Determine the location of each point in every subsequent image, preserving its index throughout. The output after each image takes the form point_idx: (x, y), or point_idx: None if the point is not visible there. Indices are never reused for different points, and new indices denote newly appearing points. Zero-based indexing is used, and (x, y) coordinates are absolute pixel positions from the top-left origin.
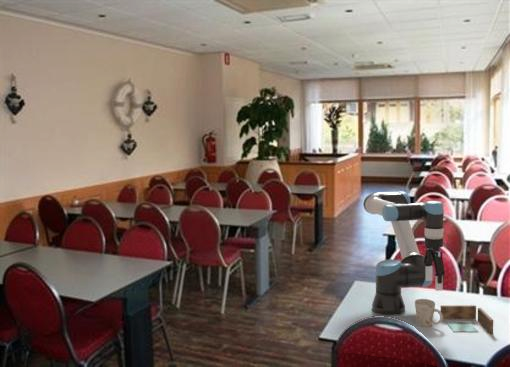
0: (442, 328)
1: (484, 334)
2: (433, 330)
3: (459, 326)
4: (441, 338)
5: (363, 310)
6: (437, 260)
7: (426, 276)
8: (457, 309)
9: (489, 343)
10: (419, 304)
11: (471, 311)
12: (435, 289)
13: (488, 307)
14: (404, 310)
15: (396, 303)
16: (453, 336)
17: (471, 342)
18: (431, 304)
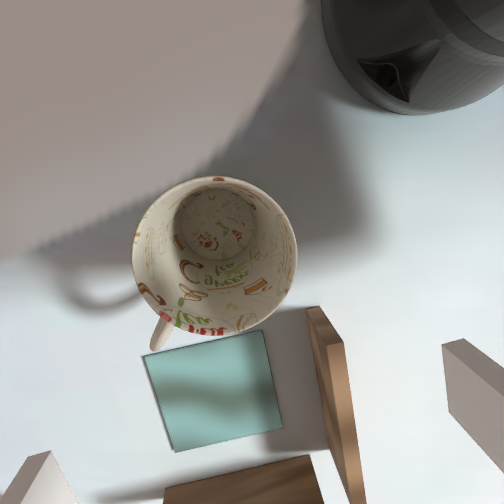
0: None
1: (156, 469)
2: None
3: (216, 385)
4: (41, 299)
5: None
6: None
7: (488, 389)
8: (332, 414)
9: None
10: (144, 215)
11: (339, 465)
12: (40, 460)
13: (480, 498)
14: (393, 109)
15: (378, 30)
16: (88, 353)
17: (42, 420)
18: (258, 300)
